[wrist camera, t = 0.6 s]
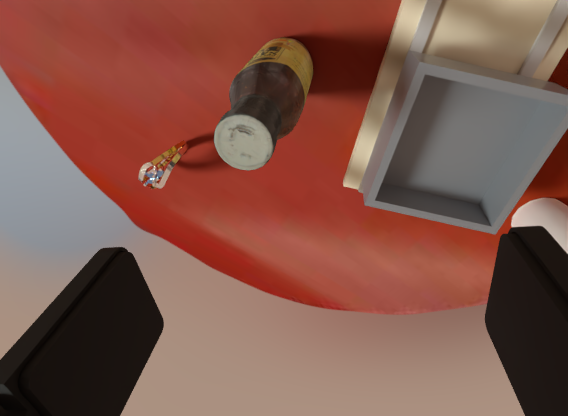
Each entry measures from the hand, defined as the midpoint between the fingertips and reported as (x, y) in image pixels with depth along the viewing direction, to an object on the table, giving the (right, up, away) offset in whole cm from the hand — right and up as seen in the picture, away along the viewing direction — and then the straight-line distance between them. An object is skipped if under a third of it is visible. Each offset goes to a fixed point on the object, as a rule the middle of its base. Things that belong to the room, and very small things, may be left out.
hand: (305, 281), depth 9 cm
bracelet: (-15, +10, +37) cm, 41 cm away
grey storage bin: (+16, +10, +29) cm, 35 cm away
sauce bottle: (-1, +17, +30) cm, 35 cm away
